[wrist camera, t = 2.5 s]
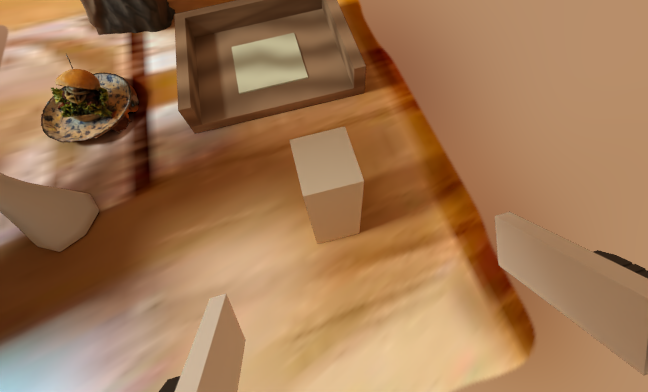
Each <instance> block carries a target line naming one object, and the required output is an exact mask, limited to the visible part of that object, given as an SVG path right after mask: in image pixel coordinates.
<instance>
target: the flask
mask: <svg viewBox="0 0 648 392" xmlns="http://www.w3.org/2000/svg"><path fill="white" fill-rule="evenodd" d="M0 212H1V213H2V214H3V215H5V216H6V217H7V218H8V219H9V220H10V221H11V222H12V223H13V224H15V225H16V226H17V227H18V228H19V229H20V230H21V231H22V232H23V233H24V234H25V235H26V236H27V237H28V238H29V239H30V240H31V241H32V242H33V243H34V244H35V245H36V246H38V247H41V248H45V249H50V250H54V251H58V252H61V251H62V250H64V249H65V248H67V247H68V246H70V245H71V244H73V243H74V242H76V241H77V240H78V239H80V238H81V237H83V236H84V235H86V233H87V231H88V230H89V228H90V226H91V224H92V223H93V221H94V219H95V218H96V216H97V214H98V212H99V209H98V207H97V205H96V204H95V202H94V200H93V198H92V196H91V195H90V194H88V193H83V192H78V191H73V190H68V189H62V188H56V187H49V186H42V185H37V184H32V183H27V182H24V181H21V180H18V179H15V178H12V177H8V176H6V175H4V174H2V173H0Z"/></svg>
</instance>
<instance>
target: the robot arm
mask: <svg viewBox="0 0 648 392" xmlns="http://www.w3.org/2000/svg"><path fill="white" fill-rule="evenodd" d="M495 225H496V238H497V252H498V264H499V266H500V267H502V268H503V269H504V270H506V271H507V272H508V273H510V274H511V275H512V276H514V277H515V278H516V279H518V280H519V281H520V282H522V283H523V284H525V286H527V287H528V288H529V289H531V290H532V291H533V292H535V293H536V294H537V295H539V296H540V297H541V298H543V299H544V300H545V301H547V302H548V303H549V304H550V305H552V306H553V307H554V308H556V309H557V310H558V311H560V312H561V313H562V314H564V315H565V316H566V317H568V318H569V319H570V320H572V321H573V322H574V323H576V324H577V325H578V326H579V327H581V328H582V329H583V330H585V331H586V332H587V333H589V334H590V335H591V336H593V337H594V338H595V339H597V340H598V341H599V342H601V343H602V344H603V345H605V346H606V347H607V348H608V349H610V350H611V351H612V352H614V353H615V354H616V355H618V356H619V357H620V358H622V359H623V360H624V361H626V362H627V363H628V364H630V365H631V366H632V367H634V368H635V369H636V370H637V371H639V372H640V373H641V374H643V375H646V374H648V271H646V270H645V268H643V267H640V266H638V265H636V264H634V265H633V264H632V262H630V261H627V260H625V259H623V258H621V257H619V256H617V255H613V254H609V253H605V252H602V251H598V250H597V251H594V252H592V251H590V250H588V249H586V248H583V247H582V246H579V245H577V244H575V243H573V242H571V241H569V240H567V239H565V238H563V237H561V236H559V235H557V234H555V233H553V232H550V231H548V230H547V229H544V228H542V227H540V226H538V225H536V224H534V223H532V222H530V221H528V220H526V219H524V218H522V217H520V216H518V215H516V214H514V213H511V212H507V213H503V214H500V215H496V216H495ZM244 346H245V338H244V335H243V333H242V330H241V328H240V326H239V323H238V321H237V318H236V316H235V314H234V311H233V309H232V306H231V304H230V301H229V299H228V297H227V294H223V295H219V296H216V297H212V298H210V299H209V302H208V304H207V307H206V310H205V312H204V315H203V318H202V320H201V323H200V326H199V328H198V331H197V334H196V336H195V339H194V342H193V344H192V347H191V350H190V352H189V355H188V358H187V360H186V363H185V366H184V368H183V371H182V373H181V376H178V377H175V378H172V379H168V380H167V382H166V383H165V384H164V386H163V387H162V388H161V389H160V391H159V392H237V390H238V383H239V377H240V371H241V365H242V359H243V352H244Z"/></svg>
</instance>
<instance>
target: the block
mask: <svg viewBox="0 0 648 392" xmlns="http://www.w3.org/2000/svg"><path fill="white" fill-rule="evenodd" d="M290 145H291V149H292V153H293V157H294V161H295V165H296V169H297V174H298V178H299V182H300V186H301V190H302V194H303V198H304V201H305V205H306V208H307V211H308V215H309V218H310V221H311V225H312V228H313V231H314V234H315V238H316V241H317V244H320V243H324V242H328V241H331V240H335V239H339V238H343V237H347V236H351V235H354V234H358V233H359V232H360V221H361V210H362V199H363V189H364V179H363V176H362V173H361V171H360V168H359V165H358V162H357V159H356V156H355V153H354V151H353V148H352V145H351V142H350V139H349V136H348V134H347V131H346V128H345V126H344V127H340V128H336V129H332V130H328V131H324V132H320V133H316V134H312V135H308V136H304V137H299V138H295V139H291V140H290Z"/></svg>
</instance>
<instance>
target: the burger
mask: <svg viewBox="0 0 648 392" xmlns="http://www.w3.org/2000/svg"><path fill="white" fill-rule="evenodd" d="M66 56H67V54H66ZM67 57H68V56H67ZM68 60H69V59H68ZM69 62H70V60H69ZM70 65H71V62H70ZM71 67H72V65H71ZM55 83H56V85H60V86H64V87H63V88H61V89H57V88H56V89H54V88H51V89H52V90H51V91H53V92H52V93H53V95H54V96H53V97H52V98H51V99H50V100H49V101H48V102H47V105H46V106H45V108H44V109H43V114H42V115H41V116H42V117H41V126H42V128H43V131H44V133H45V134H46V135H47V136H48V137H50V138H52V139H55V140H57V141H60V142H72V141H84V140H88V139H92V138H97V137H99V136H102V135H103V134H104V133H106V132H107V131H109V130H110V129H113V130H115V131H117V132H119V133H120V131H121V130H124V129H126V127H127V125H128V123H129V122H132V121H130V119H129V118H128V117H129V115H128V113H129V112H130V111H131V112H136V111H137V110H138V107H139V106H138V103H139V101H138V99H137V94H136V92H135V89H134V88H133V87H132V86H131V85H129V83H128V82H127V81H126V80H125V79H124V78H123V77H120V76H118V75H116V74H111V73H96V74H92V73H90V72H88V71H85V70H81V69H73V67H72V69H71V70H68V71H66V72H64V73H62V74H61V75H60V76H59V77H58V78H57V79H56V82H55Z"/></svg>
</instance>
